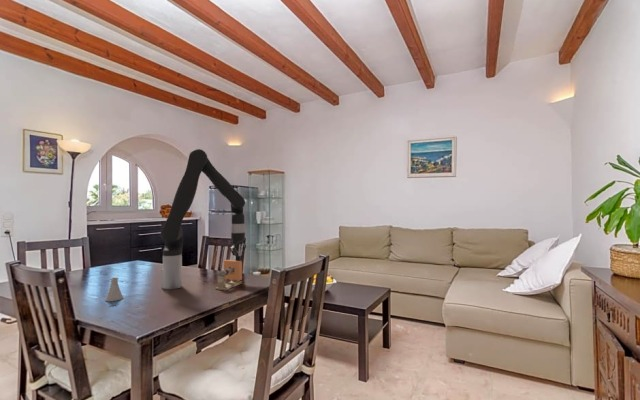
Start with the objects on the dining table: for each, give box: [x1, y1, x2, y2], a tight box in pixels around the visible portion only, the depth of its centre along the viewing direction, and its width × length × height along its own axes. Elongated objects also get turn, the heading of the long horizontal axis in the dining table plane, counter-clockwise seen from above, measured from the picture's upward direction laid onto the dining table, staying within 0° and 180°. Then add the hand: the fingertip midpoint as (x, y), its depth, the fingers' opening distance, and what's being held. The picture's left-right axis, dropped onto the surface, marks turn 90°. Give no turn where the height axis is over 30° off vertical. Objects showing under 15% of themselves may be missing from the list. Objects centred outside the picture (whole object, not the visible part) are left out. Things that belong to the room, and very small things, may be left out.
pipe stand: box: [214, 267, 243, 291], centre depth 177 cm, size 15×6×9 cm, turn 160°
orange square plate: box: [223, 259, 243, 281], centre depth 180 cm, size 10×2×10 cm, turn 70°
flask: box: [105, 277, 124, 302], centre depth 154 cm, size 7×7×10 cm
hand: (238, 262), depth 185 cm, fingers closed
